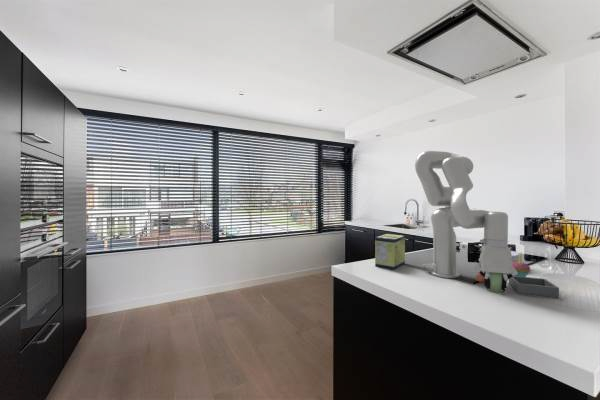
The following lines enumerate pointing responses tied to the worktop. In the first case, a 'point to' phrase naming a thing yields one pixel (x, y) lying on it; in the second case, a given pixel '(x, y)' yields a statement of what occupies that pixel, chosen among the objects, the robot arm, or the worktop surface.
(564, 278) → the worktop surface
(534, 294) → the bin
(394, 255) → the protein box
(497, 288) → the cucumber chunk
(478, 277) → the tomato ball
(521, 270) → the cupcake
